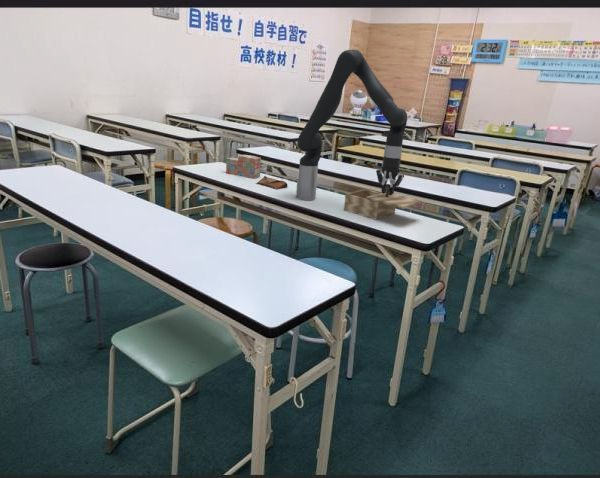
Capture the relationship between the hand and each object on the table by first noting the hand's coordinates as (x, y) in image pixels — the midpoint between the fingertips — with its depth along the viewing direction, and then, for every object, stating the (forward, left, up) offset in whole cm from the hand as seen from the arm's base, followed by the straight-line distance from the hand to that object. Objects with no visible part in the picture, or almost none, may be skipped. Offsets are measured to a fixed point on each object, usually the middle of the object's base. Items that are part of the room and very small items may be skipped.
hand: (387, 193), depth 198 cm
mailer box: (-8, 0, -11) cm, 14 cm away
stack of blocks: (-101, -1, -11) cm, 101 cm away
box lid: (+4, 0, -3) cm, 5 cm away
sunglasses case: (-72, -4, -11) cm, 73 cm away
